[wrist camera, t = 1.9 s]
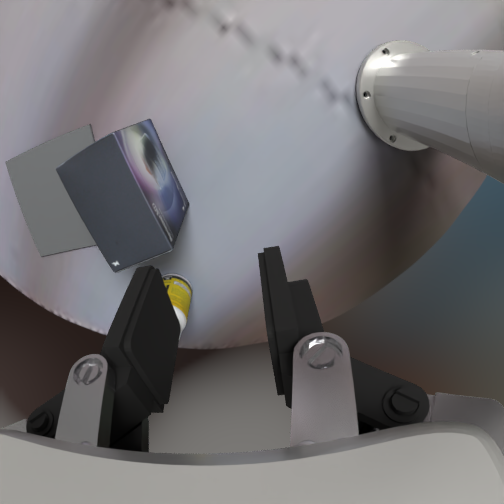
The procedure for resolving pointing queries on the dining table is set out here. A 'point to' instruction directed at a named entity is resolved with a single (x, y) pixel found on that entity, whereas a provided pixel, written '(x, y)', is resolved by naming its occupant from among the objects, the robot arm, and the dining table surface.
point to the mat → (50, 193)
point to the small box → (126, 195)
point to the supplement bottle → (179, 296)
